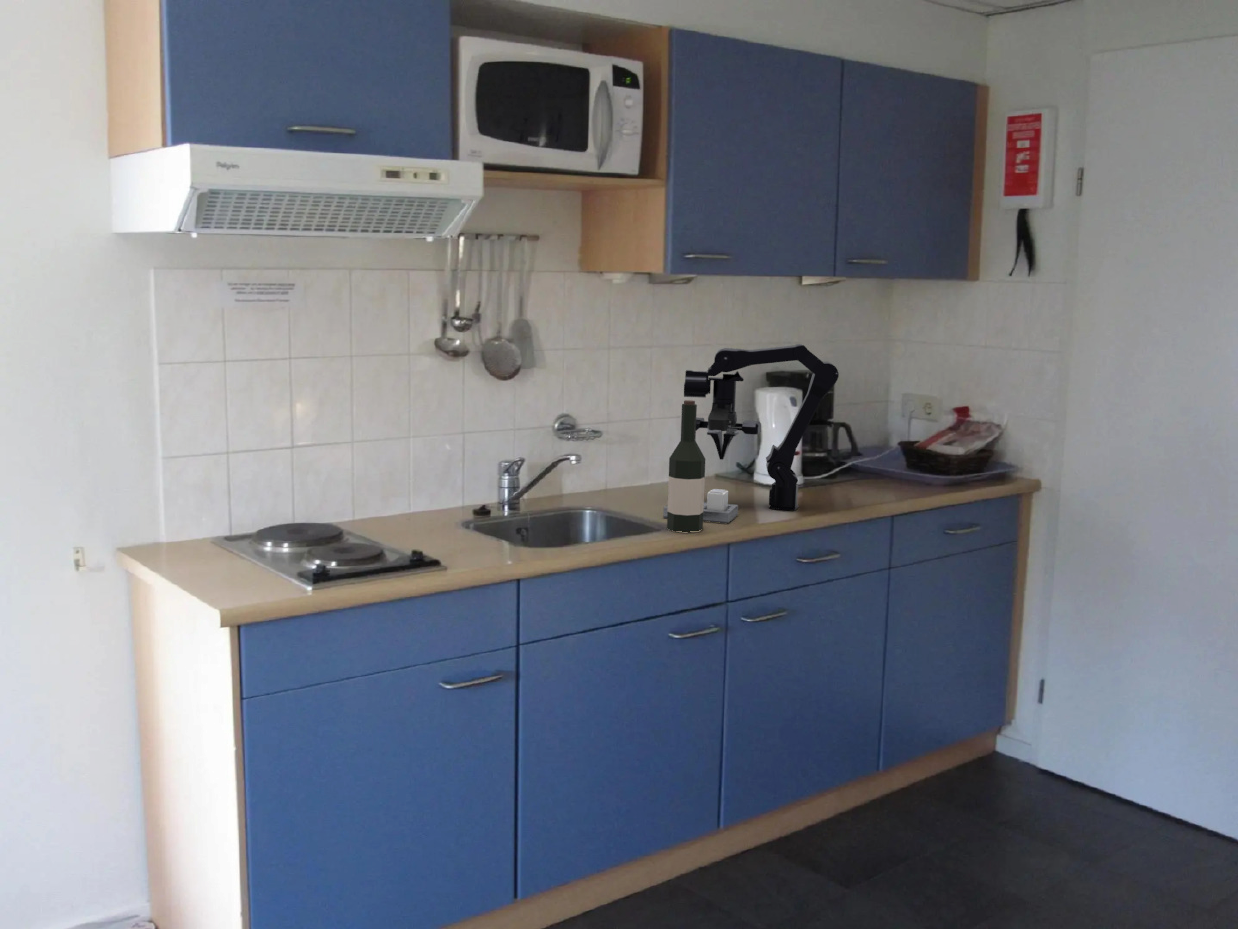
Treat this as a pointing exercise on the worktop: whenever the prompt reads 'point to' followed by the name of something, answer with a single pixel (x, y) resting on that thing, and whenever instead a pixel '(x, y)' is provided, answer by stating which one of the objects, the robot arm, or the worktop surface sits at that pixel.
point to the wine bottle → (686, 477)
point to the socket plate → (715, 514)
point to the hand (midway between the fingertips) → (721, 459)
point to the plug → (717, 500)
